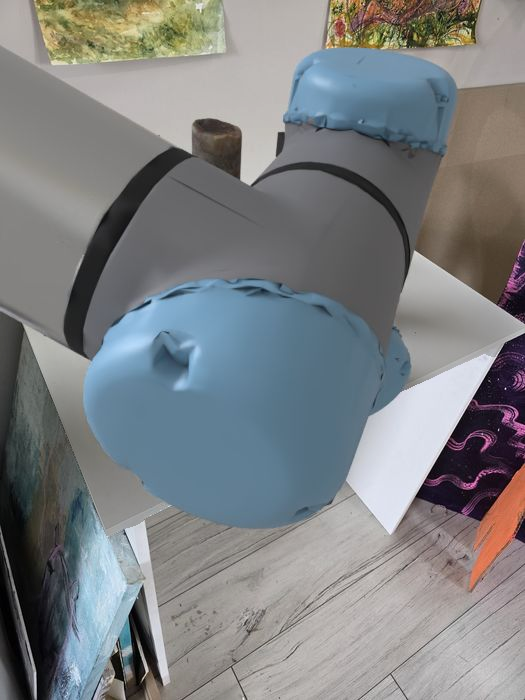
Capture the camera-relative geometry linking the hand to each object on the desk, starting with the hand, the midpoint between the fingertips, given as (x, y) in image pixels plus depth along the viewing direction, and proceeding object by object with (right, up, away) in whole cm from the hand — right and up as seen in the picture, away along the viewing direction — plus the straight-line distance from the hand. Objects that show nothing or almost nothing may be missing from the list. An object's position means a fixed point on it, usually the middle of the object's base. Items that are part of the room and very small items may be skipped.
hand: (220, 146), depth 53 cm
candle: (-3, -6, +29) cm, 29 cm away
